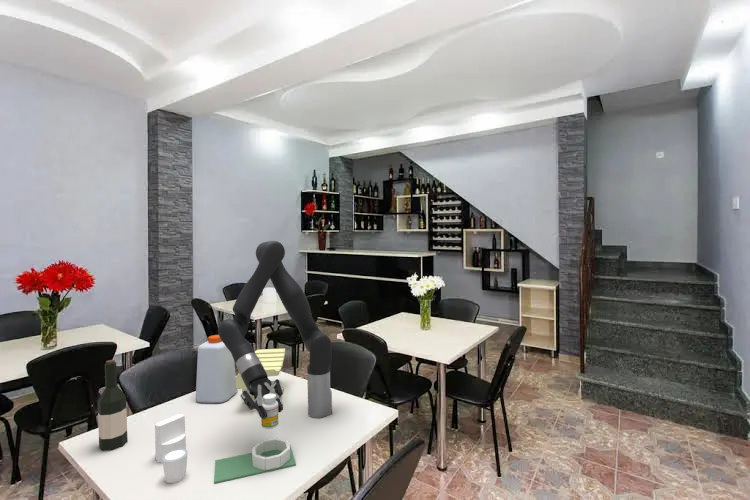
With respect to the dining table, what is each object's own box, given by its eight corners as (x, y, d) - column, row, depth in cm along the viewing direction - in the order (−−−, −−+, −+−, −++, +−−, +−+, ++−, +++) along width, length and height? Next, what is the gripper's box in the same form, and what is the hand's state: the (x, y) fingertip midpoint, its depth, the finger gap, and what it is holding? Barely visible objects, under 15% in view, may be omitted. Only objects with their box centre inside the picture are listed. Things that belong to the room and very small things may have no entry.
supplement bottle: (263, 421, 126) (262, 392, 126) (279, 421, 127) (279, 392, 126) (259, 430, 121) (259, 399, 121) (277, 429, 121) (276, 399, 121)
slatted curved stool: (252, 385, 187) (252, 349, 187) (285, 384, 189) (285, 348, 188) (236, 413, 158) (235, 371, 157) (275, 411, 159) (274, 369, 158)
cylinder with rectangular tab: (165, 466, 122) (164, 429, 121) (150, 457, 127) (149, 422, 126) (191, 452, 129) (190, 417, 129) (176, 444, 134) (175, 411, 134)
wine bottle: (97, 453, 129) (93, 366, 128) (101, 442, 137) (98, 359, 136) (126, 447, 133) (123, 362, 132) (128, 436, 140) (125, 355, 139)
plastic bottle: (240, 390, 181) (238, 332, 180) (224, 404, 166) (222, 341, 165) (210, 389, 183) (208, 332, 182) (191, 403, 168) (189, 340, 167)
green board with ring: (290, 446, 132) (290, 434, 132) (296, 465, 121) (295, 453, 121) (215, 461, 124) (215, 449, 123) (214, 483, 112) (213, 470, 112)
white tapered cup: (177, 485, 112) (177, 462, 112) (157, 482, 113) (156, 459, 113) (193, 471, 119) (192, 449, 118) (174, 469, 120) (173, 447, 120)
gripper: (236, 369, 122) (258, 417, 115) (273, 358, 133) (296, 400, 126) (227, 381, 126) (249, 428, 119) (264, 369, 137) (286, 412, 130)
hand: (273, 414), depth 123 cm, fingers closed on supplement bottle, 5 cm apart
